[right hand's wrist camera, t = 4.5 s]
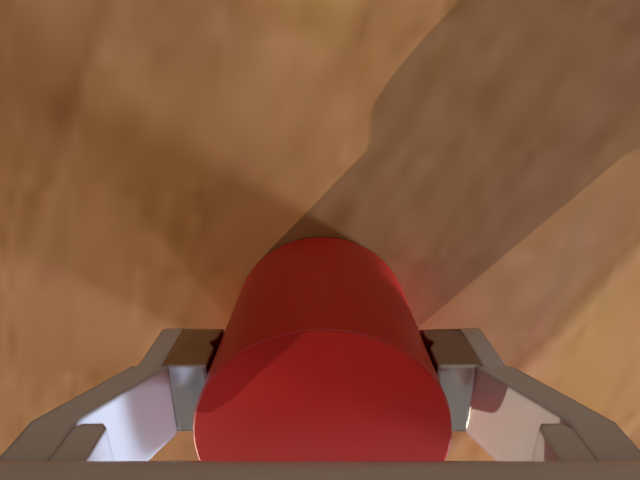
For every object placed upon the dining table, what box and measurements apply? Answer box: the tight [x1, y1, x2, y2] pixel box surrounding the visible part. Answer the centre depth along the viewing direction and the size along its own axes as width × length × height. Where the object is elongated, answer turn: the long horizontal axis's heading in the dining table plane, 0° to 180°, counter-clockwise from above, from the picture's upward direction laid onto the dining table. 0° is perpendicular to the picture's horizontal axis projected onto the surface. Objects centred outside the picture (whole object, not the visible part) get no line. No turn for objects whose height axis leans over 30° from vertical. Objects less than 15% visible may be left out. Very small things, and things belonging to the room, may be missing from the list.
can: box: [193, 237, 452, 461], centre depth 10 cm, size 5×5×5 cm
